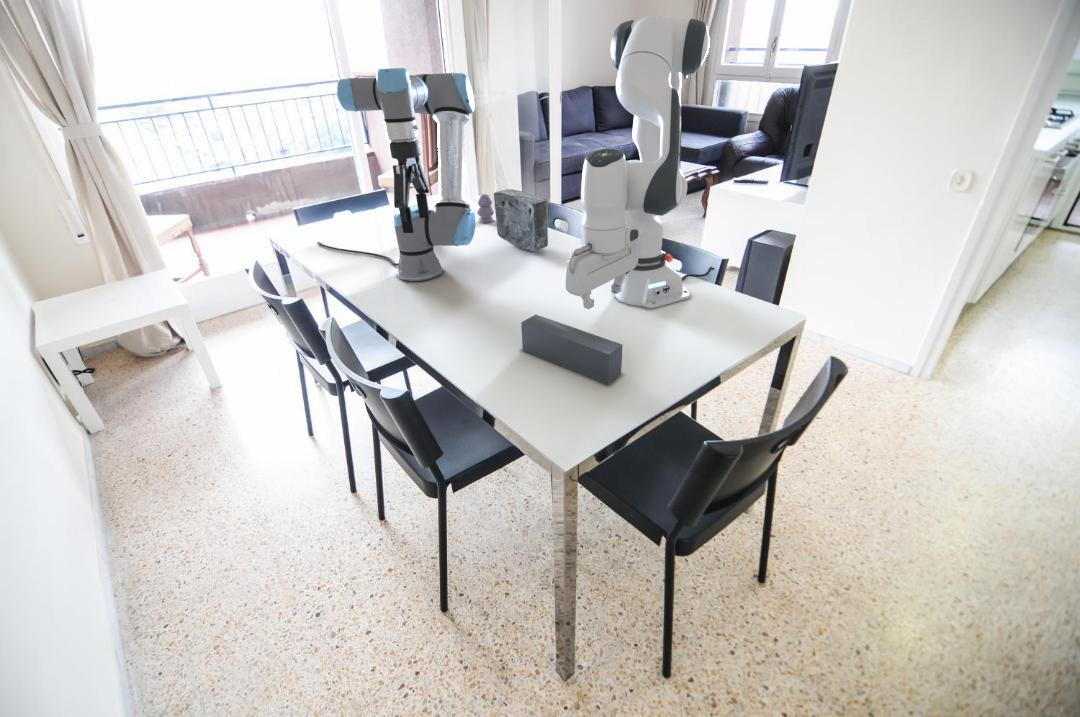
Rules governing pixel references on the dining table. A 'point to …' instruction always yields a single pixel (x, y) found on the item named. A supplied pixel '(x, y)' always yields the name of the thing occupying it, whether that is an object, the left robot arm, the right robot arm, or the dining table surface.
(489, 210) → the purple stacked rounded piece
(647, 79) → the right robot arm
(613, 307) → the dining table surface
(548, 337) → the bar
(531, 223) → the concrete block
